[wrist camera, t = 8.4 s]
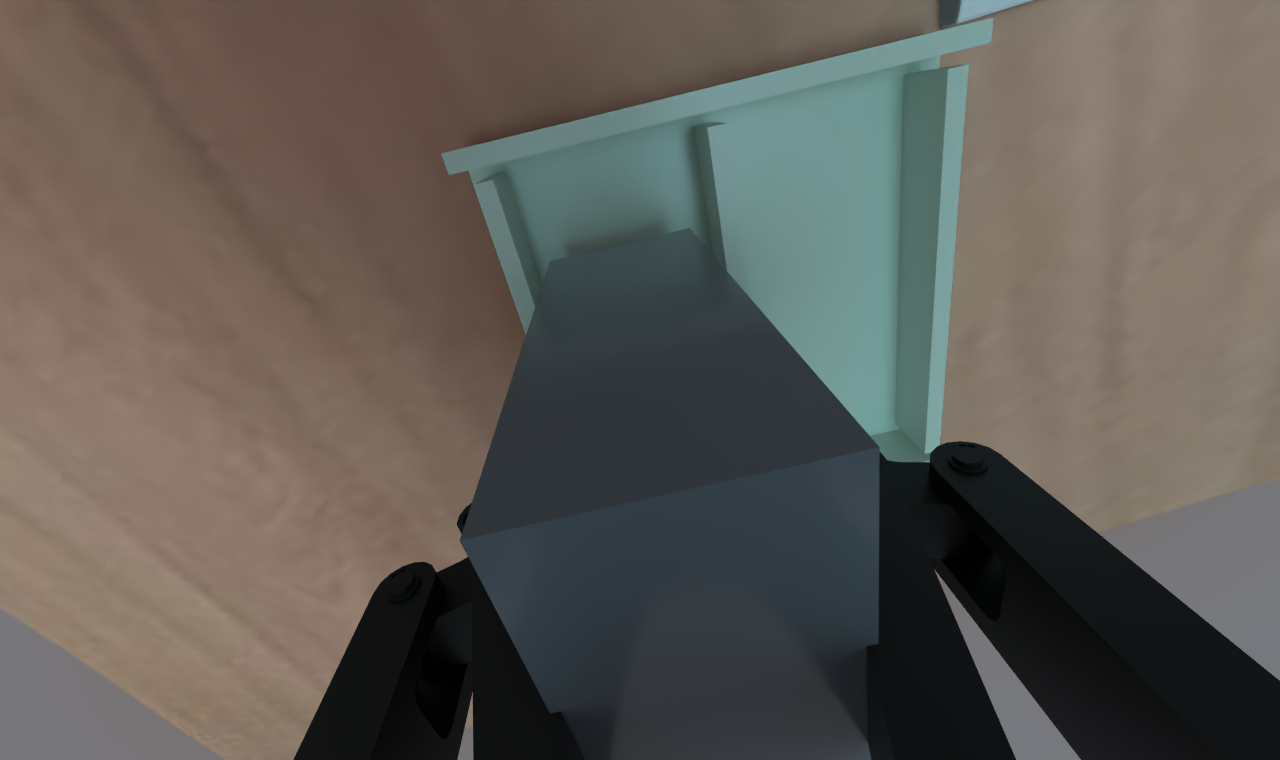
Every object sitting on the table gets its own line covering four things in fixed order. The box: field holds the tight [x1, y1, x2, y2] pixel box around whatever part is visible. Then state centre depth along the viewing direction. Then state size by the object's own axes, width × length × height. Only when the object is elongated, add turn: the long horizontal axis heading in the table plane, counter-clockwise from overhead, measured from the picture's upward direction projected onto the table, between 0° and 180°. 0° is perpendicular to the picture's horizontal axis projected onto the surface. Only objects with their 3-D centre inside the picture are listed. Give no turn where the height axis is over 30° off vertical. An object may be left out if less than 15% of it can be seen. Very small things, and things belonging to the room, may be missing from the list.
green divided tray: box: [441, 18, 993, 462], centre depth 20 cm, size 16×16×3 cm
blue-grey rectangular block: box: [460, 228, 880, 760], centre depth 13 cm, size 9×4×12 cm, turn 12°
